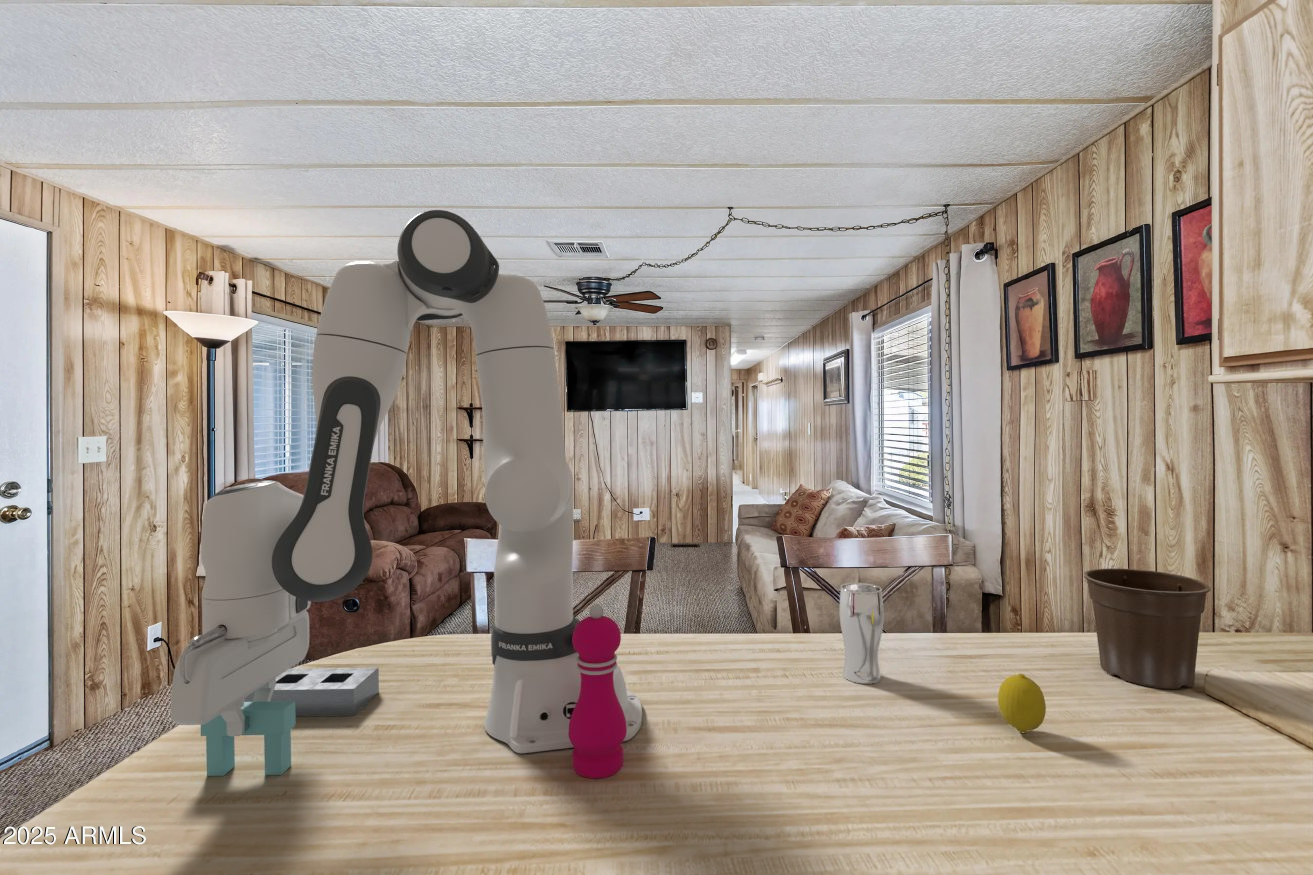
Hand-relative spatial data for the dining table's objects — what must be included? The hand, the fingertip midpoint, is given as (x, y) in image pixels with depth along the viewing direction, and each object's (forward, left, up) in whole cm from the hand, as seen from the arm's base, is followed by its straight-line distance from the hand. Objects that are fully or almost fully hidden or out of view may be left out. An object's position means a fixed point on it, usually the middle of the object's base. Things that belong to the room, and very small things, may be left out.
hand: (249, 725), depth 74 cm
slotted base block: (+2, -18, -6) cm, 19 cm away
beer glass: (-85, -25, -6) cm, 89 cm away
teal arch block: (0, 0, -6) cm, 6 cm away
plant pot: (-132, -24, -6) cm, 134 cm away
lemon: (-100, -6, -6) cm, 100 cm away
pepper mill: (-43, 0, -6) cm, 43 cm away
